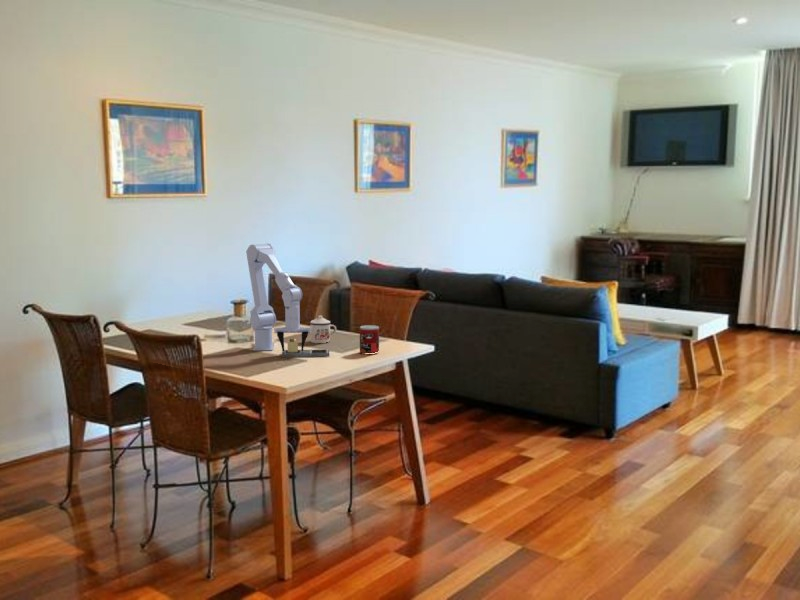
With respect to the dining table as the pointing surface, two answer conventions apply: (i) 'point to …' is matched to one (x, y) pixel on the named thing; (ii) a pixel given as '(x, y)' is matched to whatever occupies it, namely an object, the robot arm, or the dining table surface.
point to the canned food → (369, 339)
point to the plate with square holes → (306, 353)
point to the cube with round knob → (292, 345)
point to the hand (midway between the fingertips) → (292, 350)
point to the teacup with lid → (321, 330)
